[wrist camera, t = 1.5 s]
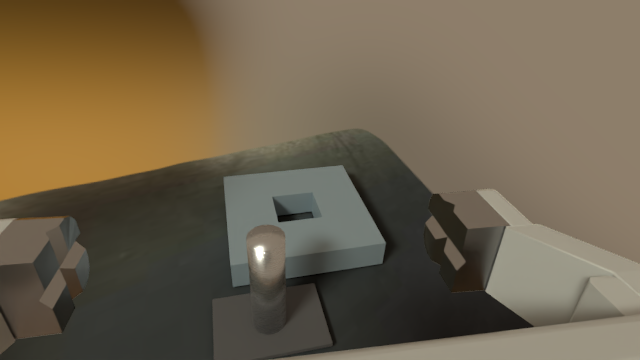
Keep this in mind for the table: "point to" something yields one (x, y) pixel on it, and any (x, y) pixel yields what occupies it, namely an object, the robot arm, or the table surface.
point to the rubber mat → (254, 347)
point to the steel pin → (267, 277)
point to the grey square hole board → (302, 235)
